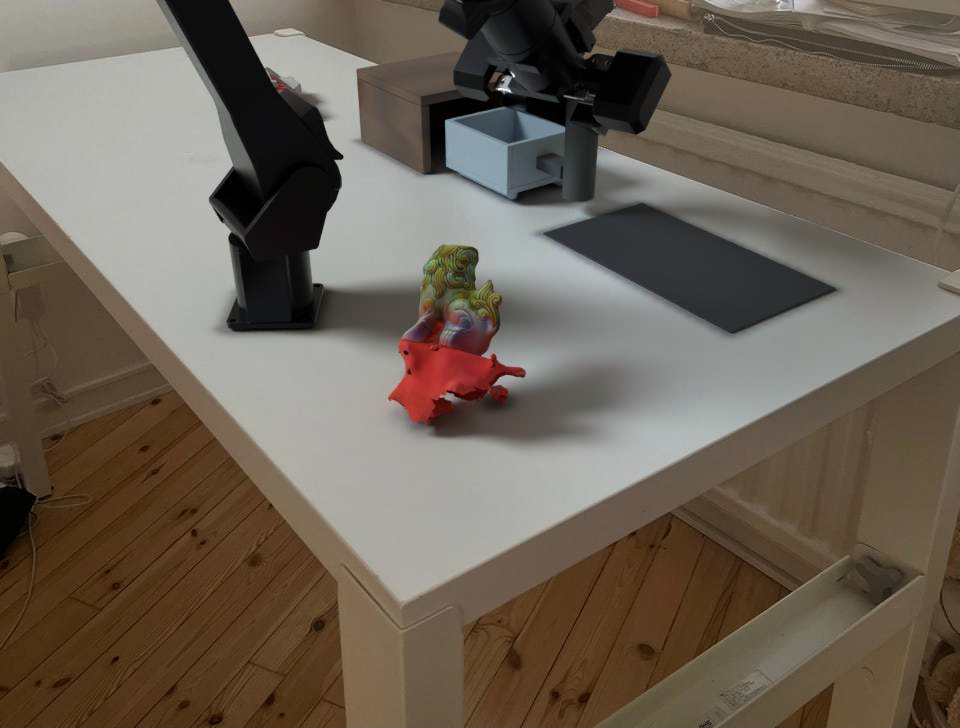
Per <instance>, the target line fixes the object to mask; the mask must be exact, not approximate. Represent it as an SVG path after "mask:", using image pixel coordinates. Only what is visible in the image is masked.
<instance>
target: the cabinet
mask: <svg viewBox="0 0 960 728" xmlns="http://www.w3.org/2000/svg"><path fill="white" fill-rule="evenodd" d="M461 53H462V52H459V51H450V52H445V53H439V54H434V55H433V54H432V55H428V56H422V57H417V58H411V59H405V60H400V61H393V62H388V63H382V64H376V65H371V66H365V67H359V68H356V70H355V72H356V84H357V96H358V97H357V99H358V100H357V101H358V114H359V128H360V140H361V142H362V143H363V144H366V145H368V146H370V147H372V148H373V149H375V150H377V151H379V152H381V153H383V154H385V155H387V156H389V157H390V158H393V159H394V160H396V161H398V162H400V163H402V164H404V165H406V166H408V167H410V168H411V169H413V170H415V171H417V172H419V173H421V174H423V175H426V174H430V173H432V149H431V130H432V129H433V130H434V129H437V128H442V127H445V120H448V119H452V118H456V117H461V116H465V115H469V114H474V113H478V112H483V111H487V110H492V109H496V108H501V107H503V106H502V104H501V100H502V97H503V95H504V94H503V93H502V92H501V91H497V90H496V89H495V88H494V85H495V83H496V81H497V79H498V77H499V75H501V74H502V73H497V72H495V73H494V75H493V76H492V78H491V80H490V82H489V84H488V87H489V89H490V90H491V91H492V94H491V96H490V98H489V99H488V100H487V101H482V100H478V99H473V98H469V97H464V96H463V95H462V94H461V93H460V92H459V90H458V89H457V88H456V87H455V86H454V83H453V69H454V67H455V65H456V63H457V61H458V59H459V57H460V55H461Z"/></svg>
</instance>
